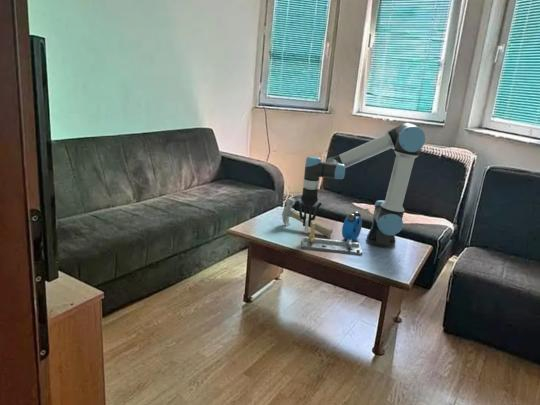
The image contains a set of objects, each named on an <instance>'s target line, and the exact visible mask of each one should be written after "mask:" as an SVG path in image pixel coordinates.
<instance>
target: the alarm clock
mask: <svg viewBox="0 0 540 405" xmlns="http://www.w3.org/2000/svg"><path fill="white" fill-rule="evenodd" d="M361 216H362V214H361V212H359V211H353V212H352V213H349V214H347V216H346V217H345V219H344V222H343V225H342V229H341V235H342V238H344V239H343V241H345V240H347V239H352V242H354V241H356V240H357V239H358V238H359V237H360V233H361V232H362V226H363V219H362V217H361Z"/></svg>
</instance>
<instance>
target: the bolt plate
mask: <svg viewBox="0 0 540 405" xmlns="http://www.w3.org/2000/svg"><path fill="white" fill-rule="evenodd" d="M301 239H302V240H301V249H305V250H314V251H323V252H331V253H340V254H341V253H342V254H350V255H358V256H363V250H362V246H361V244H359V247H356V246H351V249H350V248H349V246H347V245H338V244H329V243H320V242H313V243H312V244H311V241H304V238H301Z"/></svg>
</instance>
